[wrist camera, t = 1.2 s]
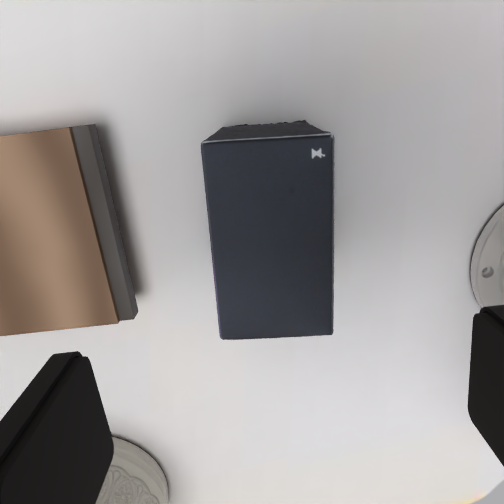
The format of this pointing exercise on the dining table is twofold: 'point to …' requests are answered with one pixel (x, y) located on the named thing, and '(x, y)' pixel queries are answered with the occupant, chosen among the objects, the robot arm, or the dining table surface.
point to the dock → (59, 235)
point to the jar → (133, 478)
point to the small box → (271, 229)
